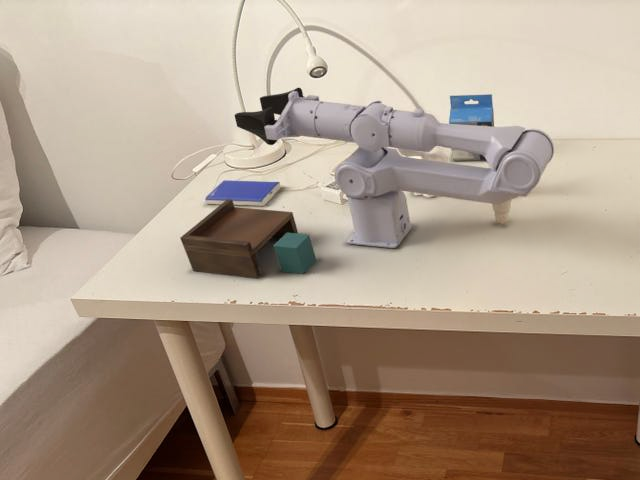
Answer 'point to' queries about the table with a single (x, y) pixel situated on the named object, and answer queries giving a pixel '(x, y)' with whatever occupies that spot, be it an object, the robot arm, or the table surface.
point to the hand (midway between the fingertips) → (249, 111)
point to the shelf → (234, 239)
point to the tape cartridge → (471, 118)
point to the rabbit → (426, 158)
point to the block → (295, 253)
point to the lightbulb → (502, 211)
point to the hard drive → (243, 192)
